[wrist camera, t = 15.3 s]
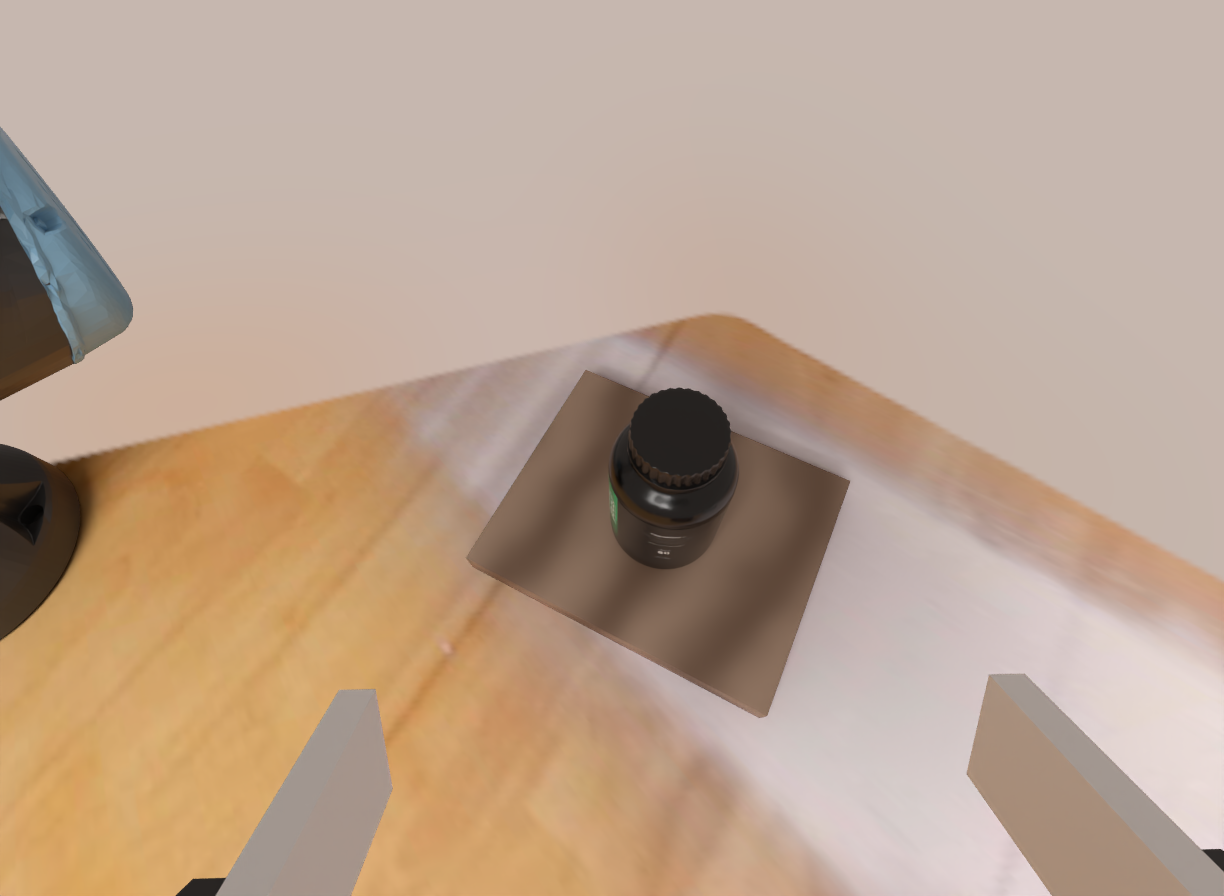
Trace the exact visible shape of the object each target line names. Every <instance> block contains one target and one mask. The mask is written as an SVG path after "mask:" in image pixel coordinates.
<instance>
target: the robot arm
mask: <svg viewBox="0 0 1224 896" xmlns="http://www.w3.org/2000/svg"><path fill="white" fill-rule="evenodd" d="M132 317H133V306H132V302H131V299H130V297H129V295H128V294H127V292H126V290H125V289H124V287H123V286H122V284H121V283H120V281H119V280H118V278H117V277H116V276H115V274H114V273H113V271H112V270H111V268H110V267H109V266H108V264H107V263H106V261H105V260H104V259H103V258H102V256H101V255H100V253H99V252H98V250H97V249H96V248H95V246H94V245H93V244H92V242H91V241H90V240H89V238H88V237H87V236H86V234H85V233H84V232H83V231H82V229H81V228H80V226H79V225H78V224H77V223H76V221H75V220H74V219H73V217H72V216H71V215H70V213H69V212H68V211H67V209H66V208H65V207H64V206H63V204H62V203H61V202H60V200H59V199H58V198H57V197H56V195H55V194H54V193H53V191H52V190H51V189H50V188H49V186H48V185H47V184H46V183H45V181H44V180H43V179H42V177H41V176H40V175H39V174H38V172H37V171H36V170H35V168H34V167H33V166H32V165H31V164H30V162H29V161H28V160H27V158H26V157H25V156H24V155H23V154H22V152H21V151H20V150H19V149H18V147H17V146H16V145H15V144H14V143H13V141H12V140H11V139H10V138H9V136H8V135H7V134H6V133H5V132H4V131H3V129H2V128H1V127H0V400H2V399H4V398H6V397H8V396H10V395H12V394H14V393H16V392H18V391H20V390H22V389H24V388H26V387H28V386H30V385H32V384H34V383H36V382H38V381H40V380H42V379H44V378H46V377H48V376H50V375H52V374H54V373H56V372H58V371H59V370H62V369H64V368H66V367H68V366H70V365H72V364H77V363H79V362H80V361H82V360H83V359H84V356H85V355H86V354H88V353H89V352H91V351H92V350H94V349H96V348H97V347H99V346H101V345H102V344H104V343H106V342H107V341H109V340H110V339H112V338H114V337H115V336H117V335H118V334H120V333H122V332H123V331H124V330H125V329H126V328H127V327H128V325H129V323H130V322H131V320H132ZM79 526H80V505H79V500H78V497H77V493H76V491H75V489H74V487H73V485H72V483H71V482H70V480H69V479H68V478H67V477H66V475H65V474H64V473H63V472H61V471H60V470H59V469H58V468H56V467H55V466H53V465H51V464H49V463H47V462H45V461H43V460H41V459H39V458H37V457H35V456H33V455H31V454H29V453H27V452H25V451H22V450H20V449H17V448H14V447H11V446H7V445H3V444H0V639H1V638H3V637H4V636H5V635H7V634H8V633H9V632H11V631H12V630H13V629H14V628H15V627H17V626H18V625H19V624H20V623H21V622H22V621H23V620H24V619H26V618H27V617H28V616H29V615H30V614H31V613H32V612H33V611H34V610H35V609H36V607H37V606H38V605H39V604H40V603H41V602H42V601H43V600H44V598H45V597H46V596H47V595H48V593H49V592H50V591H51V589H52V588H53V587H54V585H55V584H56V582H57V581H58V579H59V578H60V576H61V574H62V573H63V571H64V569H65V567H66V565H67V563H68V561H69V559H70V557H71V555H72V552H73V550H74V547H75V544H76V540H77V537H78V532H79ZM967 775H968V777H969V778H970V779H971V781H972V782H973V784H974V785H975V787H976V788H977V789H978V791H979V792H980V794H981V795H982V797H983V798H984V799H985V801H986V802H987V804H988V805H989V807H990V808H991V809H992V811H993V812H994V814H995V815H996V817H997V818H998V819H999V821H1000V822H1001V824H1002V825H1003V827H1004V828H1005V829H1006V831H1007V832H1008V834H1009V835H1010V837H1011V838H1012V839H1013V841H1014V842H1015V844H1016V845H1017V847H1018V848H1019V849H1020V851H1021V852H1022V854H1023V855H1024V857H1025V858H1026V859H1027V861H1028V862H1029V864H1030V865H1031V867H1032V868H1033V869H1034V871H1035V872H1036V874H1037V875H1038V877H1039V878H1040V879H1041V881H1042V882H1043V884H1044V885H1045V887H1046V888H1047V889H1048V891H1049V892H1050V894H1051V895H1052V896H1224V851H1223V850H1221V849H1206V850H1201V849H1200V848H1199V847H1198V846H1197V845H1196V844H1195V843H1194V842H1193V841H1192V840H1191V839H1190V838H1189V837H1188V836H1187V835H1186V834H1185V833H1184V832H1183V831H1182V830H1181V829H1180V828H1179V827H1178V826H1177V825H1176V824H1175V823H1174V822H1173V821H1172V820H1171V819H1170V818H1169V817H1168V816H1167V815H1166V814H1165V813H1164V812H1163V811H1162V810H1161V809H1160V808H1159V807H1158V806H1157V805H1156V804H1155V803H1154V802H1153V801H1152V800H1151V799H1150V798H1149V797H1148V796H1147V795H1146V794H1145V793H1144V792H1143V791H1142V790H1141V789H1140V788H1139V787H1138V786H1137V785H1136V784H1135V783H1134V782H1133V781H1132V780H1131V779H1130V778H1129V777H1128V776H1127V775H1126V774H1125V773H1124V772H1123V771H1122V770H1121V769H1120V768H1119V767H1118V766H1117V765H1116V764H1115V763H1114V762H1113V761H1112V760H1111V759H1110V758H1109V757H1108V756H1107V755H1106V754H1105V753H1104V752H1103V751H1102V750H1101V749H1100V748H1099V747H1098V746H1097V745H1096V744H1095V743H1094V742H1093V741H1092V740H1091V739H1090V738H1089V737H1088V736H1087V735H1086V734H1085V733H1084V732H1083V731H1082V730H1081V729H1080V728H1079V727H1078V726H1077V725H1076V724H1075V723H1074V722H1073V721H1072V720H1071V719H1070V718H1069V717H1068V716H1067V715H1066V714H1064V713H1063V712H1062V711H1061V710H1060V709H1059V708H1058V707H1057V706H1056V705H1055V704H1054V703H1053V702H1052V701H1051V700H1050V699H1049V698H1048V697H1047V696H1046V695H1045V694H1044V693H1043V692H1042V691H1041V690H1040V689H1039V688H1038V687H1037V686H1036V685H1035V684H1034V683H1033V682H1032V681H1031V680H1030V679H1029V678H1028V677H1027V676H1026V675H1025V674H994V675H989V678H988V682H987V686H986V691H985V695H984V700H983V704H982V708H981V713H980V717H979V722H978V726H977V730H976V735H975V739H974V744H973V748H972V752H971V757H970V761H969V765H968V770H967ZM392 789H393V788H392V782H391V776H390V770H389V765H388V759H387V753H386V747H385V742H384V736H383V730H382V724H381V719H380V713H379V707H378V701H377V695H376V690H375V689H362V690H339V691H338V693H337V694H336V696H335V698H334V699H333V701H332V703H331V704H330V706H329V708H328V709H327V711H326V713H325V714H324V716H323V718H322V719H321V721H320V723H319V724H318V726H317V728H316V729H315V731H314V733H313V734H312V736H311V738H310V739H309V741H308V743H307V744H306V746H305V748H304V749H303V751H302V753H301V754H300V756H299V758H298V759H297V761H296V763H295V764H294V766H293V768H292V769H291V771H290V773H289V774H288V776H287V778H286V779H285V781H284V783H283V784H282V786H281V788H280V789H279V791H278V793H277V794H276V796H275V798H274V799H273V801H272V803H271V804H270V806H269V808H268V809H267V811H266V813H265V814H264V816H263V818H262V819H261V821H260V823H259V824H258V826H257V828H256V829H255V831H254V833H253V834H252V836H251V838H250V839H249V841H248V843H247V844H246V846H245V848H244V849H243V851H242V853H241V854H240V856H239V858H238V859H237V861H236V863H235V864H234V866H233V868H232V869H231V871H230V873H229V874H228V876H227V878H208V879H192V880H191V881H190V882H189V883H188V884H187V885H186V886H185V887H184V888H183V889H182V890H181V891H180V892H179V893H178V894H177V895H176V896H351V894H352V891H353V889H354V886H355V884H356V881H357V879H358V876H359V874H360V871H361V868H362V866H363V863H364V861H365V858H366V856H367V853H368V850H369V848H370V845H371V843H372V840H373V838H374V835H375V833H376V830H377V827H378V825H379V822H380V820H381V817H382V815H383V812H384V810H385V807H386V804H387V802H388V799H389V797H390V794H391V792H392Z"/></svg>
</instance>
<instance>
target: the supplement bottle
mask: <svg viewBox="0 0 1224 896" xmlns="http://www.w3.org/2000/svg"><path fill="white" fill-rule="evenodd" d="M730 437H731V430H730V423H729V421H728V420H727V415H726V414H725V413H724V412H723V410H722V408H721V407H720V406H718V405H717V403H716V402H715V401H714V400H712V399H710V398H709V397H708V396H707V395H704V394H702V393H700V392H699V391H693V390H691V389H682V388H676V389H673V388H669V389H667V390H661V391H659V392H658V393H654V394H652V395H651V396H650V397H649V398H646V399H644V401H643V403H641V404H639V405H638V408H637V410H636V411H635V412H634V413H633V418H632V419H631V421H630V422H629V423H628V424H627V425H626V426H625V427H624V428H623V429H622V430H621V432H620V433H619V434H618V436H617V438H616V439H615V441H614V443H613V446H612V449H611V452H610V457H609V500H610V519H611V526H612V530H613V533H614V536H615V538H616V540H617V542H618V544H619V545H620V547H621V548H622V549H623V550H624V552H625V553H626V554H627V555H628V556H630V557H631V558H632V559H634V560H635V561H637V562H639V563H641V564H643V565H645V566H648V567H651V568H656V569H676V568H680V567H683V566H686V565H688V564H690V563H692V562H694V561H695V560H697V559H698V558H699V557H701V556H702V555H703V554H704V553H705V552H706V550H707V549H708V548H709V546H710V545H711V543H712V541H713V539H714V538H715V535H716V533H717V531H718V529H719V526H720V524H721V522H722V520H723V518H724V515H725V513H726V511H727V509H728V506H729V504H730V502H731V500H732V497H733V495H734V493H735V490H736V487H737V483H738V478H739V462H738V457H737V453H736V450H735V448H734V445H733V443H732V441H731V438H730Z"/></svg>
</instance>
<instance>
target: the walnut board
mask: <svg viewBox="0 0 1224 896" xmlns="http://www.w3.org/2000/svg"><path fill="white" fill-rule="evenodd" d="M646 398H649V396H647V395H644V394H642V393H640V392H637V391H635V390H632V389H630V388H628V387H625V386H623V385H620V384H618V383H616V382H613V381H611V380H609V379H606V378H604V377H601V376H599V375H597V374H594V373H592V372H590V371H587V370H585V372H584V374H583V375H582V377H581V378H580V380H579V381H578V383H577V385H576V386H575V388H574V389H573V391H572V392H571V394H570V395H569V397H568V399H567V400H566V402H565V403H564V405H563V406H562V408H561V410H560V411H559V413H558V414H557V416H556V417H555V419H554V421H553V422H552V424H551V425H550V427H549V428H548V430H547V432H546V433H545V435H544V436H543V438H542V439H541V441H540V443H539V444H538V446H537V447H536V449H535V450H534V452H533V453H532V455H531V457H530V458H529V460H528V461H527V463H526V464H525V466H524V468H523V469H522V471H521V472H520V474H519V475H518V477H517V479H516V480H515V482H514V483H513V485H512V486H511V488H510V490H509V491H508V493H507V494H506V496H505V497H504V499H503V501H502V502H501V504H500V505H499V507H498V508H497V510H496V511H495V513H494V515H493V516H492V518H491V519H490V521H489V522H488V524H487V526H486V527H485V529H484V530H483V532H482V533H481V535H480V537H479V538H478V540H477V541H476V543H475V544H474V546H473V548H472V549H471V551H470V552H469V554H468V555H467V557H466V559H467V560H468V561H469V562H470V564H471V565H472V566H473V567H474V568H476V569H478V570H480V571H482V572H484V573H486V574H488V575H490V576H491V577H493V578H495V579H497V580H499V581H501V582H503V583H505V584H507V585H508V586H510V587H512V588H514V589H516V590H518V591H520V592H522V593H524V594H526V595H527V596H529V597H531V598H533V599H535V600H537V601H539V602H541V603H543V604H544V605H546V606H548V607H550V608H552V609H554V610H556V611H558V612H560V613H562V614H563V615H565V616H567V617H569V618H571V619H573V620H575V621H577V622H579V623H581V624H582V625H584V626H586V627H588V628H590V629H592V630H594V631H596V632H598V633H599V634H601V635H603V636H605V637H607V638H609V639H611V640H613V641H615V642H617V643H618V644H620V645H622V646H624V647H626V648H628V649H630V650H632V651H634V652H636V653H637V654H639V655H641V656H643V657H645V658H647V659H649V660H651V661H653V662H654V663H656V664H658V665H660V666H662V667H664V668H666V669H668V670H670V671H672V672H673V673H675V674H677V675H679V676H681V677H683V678H685V679H687V680H689V681H690V682H692V683H694V684H696V685H698V686H700V687H702V688H704V689H706V690H708V691H709V692H711V693H713V694H715V695H717V696H719V697H721V698H723V699H725V700H727V701H728V702H730V703H732V704H734V705H736V706H738V707H740V708H742V709H744V710H745V711H747V712H749V713H751V714H753V715H755V716H757V717H759V718H761V717H765V716H767V715H768V712H769V709H770V706H771V703H772V701H773V698H774V695H775V692H776V689H777V687H778V684H779V681H780V678H781V675H782V672H783V670H784V667H785V664H786V661H787V658H788V655H789V653H790V650H791V647H792V644H793V641H794V639H795V636H796V633H797V630H798V627H799V624H800V622H801V619H802V616H803V613H804V610H805V607H806V605H807V602H808V599H809V596H810V593H811V590H812V588H813V585H814V582H815V579H816V576H817V574H818V571H819V568H820V565H821V562H822V559H823V557H824V554H825V551H826V548H827V545H828V542H829V540H830V537H831V534H832V531H833V528H834V526H835V523H836V520H837V517H838V514H839V511H840V509H841V506H842V503H843V500H844V497H845V494H846V492H847V489H848V486H849V483H850V481H849V480H846V479H844V478H842V477H839V476H837V475H835V474H832V473H830V472H827V471H825V470H823V469H820V468H818V467H816V466H813V465H811V464H808V463H806V462H804V461H801V460H799V459H797V458H794V457H792V456H789V455H787V454H785V453H782V452H780V451H777V450H775V449H773V448H770V447H768V446H766V445H763V444H761V443H758V442H756V441H754V440H751V439H749V438H747V437H744V436H742V435H739V434H737V433H735V432H732V431H731V437H730V438H731V441H732V443H733V445H734V448H735V450H736V453H737V457H738V462H739V478H738V483H737V487H736V490H735V493H734V495H733V497H732V500H731V502H730V504H729V506H728V509H727V511H726V513H725V515H724V518H723V520H722V522H721V524H720V526H719V529H718V531H717V533H716V535H715V538H714V539H713V541H712V543H711V545H710V546H709V548H708V549H707V550H706V552H705V553H704V554H703V555H702V556H701V557H699V558H698V559H697V560H695V561H694V562H692V563H690V564H688V565H686V566H683V567H680V568H676V569H656V568H651V567H648V566H645V565H643V564H641V563H639V562H637V561H635V560H634V559H632V558H631V557H630V556H628V555H627V554H626V553H625V552H624V550H623V549H622V548H621V547H620V545H619V544H618V542H617V540H616V538H615V536H614V533H613V530H612V526H611V519H610V500H609V457H610V452H611V449H612V446H613V443H614V441H615V439H616V438H617V436H618V434H619V433H620V432H621V430H622V429H623V428H624V427H625V426H626V425H627V424H628V423H629V422H630V421H631V419H632V418H633V413H634V412H635V411H636V410H637V408H638V405H639V404H641V403H643V401H644V399H646Z"/></svg>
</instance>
